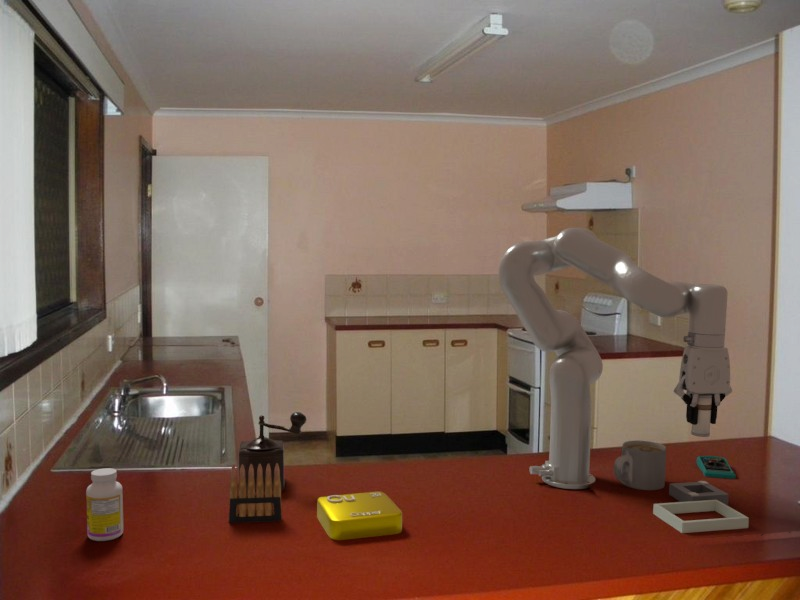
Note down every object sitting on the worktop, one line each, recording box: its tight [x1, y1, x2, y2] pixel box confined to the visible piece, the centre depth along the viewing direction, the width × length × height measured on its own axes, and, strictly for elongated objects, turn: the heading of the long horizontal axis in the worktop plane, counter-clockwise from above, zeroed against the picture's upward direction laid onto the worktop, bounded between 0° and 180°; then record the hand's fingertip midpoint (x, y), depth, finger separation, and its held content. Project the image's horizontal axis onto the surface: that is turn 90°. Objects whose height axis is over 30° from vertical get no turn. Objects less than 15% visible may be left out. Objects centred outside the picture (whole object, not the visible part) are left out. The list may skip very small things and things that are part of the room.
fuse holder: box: [668, 480, 730, 506], centre depth 182 cm, size 9×9×4 cm
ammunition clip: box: [228, 463, 283, 524], centre depth 168 cm, size 11×2×12 cm, turn 98°
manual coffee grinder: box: [238, 411, 307, 493], centre depth 190 cm, size 16×11×18 cm
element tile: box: [316, 491, 403, 541], centre depth 168 cm, size 15×15×5 cm
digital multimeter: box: [696, 455, 737, 480], centre depth 206 cm, size 7×15×3 cm, turn 167°
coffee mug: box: [613, 439, 667, 491], centre depth 193 cm, size 13×10×10 cm
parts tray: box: [652, 500, 750, 534], centre depth 170 cm, size 15×11×3 cm
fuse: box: [690, 394, 712, 438], centre depth 181 cm, size 4×4×9 cm
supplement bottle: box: [85, 467, 124, 542], centre depth 159 cm, size 7×7×13 cm
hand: (701, 422), depth 181 cm, fingers closed on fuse, 3 cm apart
